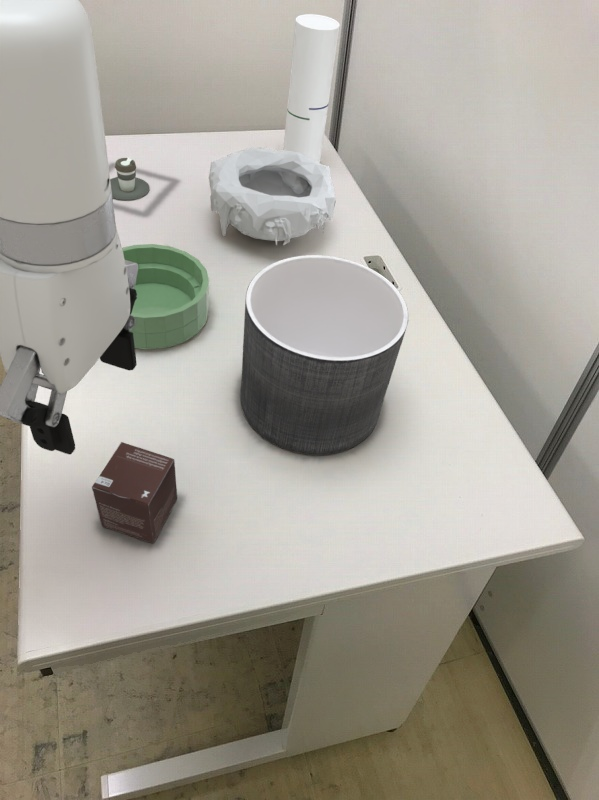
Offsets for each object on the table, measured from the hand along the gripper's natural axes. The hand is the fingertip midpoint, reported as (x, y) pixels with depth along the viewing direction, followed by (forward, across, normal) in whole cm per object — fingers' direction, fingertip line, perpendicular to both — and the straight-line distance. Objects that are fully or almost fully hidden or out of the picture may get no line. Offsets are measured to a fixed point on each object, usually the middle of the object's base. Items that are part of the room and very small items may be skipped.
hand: (89, 402), depth 52 cm
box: (+19, -2, +2) cm, 20 cm away
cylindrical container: (+20, -81, -6) cm, 84 cm away
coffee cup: (+19, -60, -30) cm, 69 cm away
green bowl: (+19, -32, -12) cm, 39 cm away
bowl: (+20, -60, -4) cm, 63 cm away
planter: (+20, -25, +14) cm, 35 cm away
